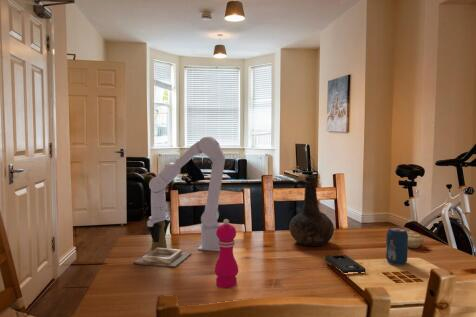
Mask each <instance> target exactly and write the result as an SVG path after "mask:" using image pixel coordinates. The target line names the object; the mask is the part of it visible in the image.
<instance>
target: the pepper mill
mask: <svg viewBox="0 0 476 317" xmlns="http://www.w3.org/2000/svg"><path fill="white" fill-rule="evenodd" d="M222 222H223V224H219V225H220V226H219V227H218V228H217V231H216V235H217V237H218V238H219V240H218V245H219V246H220V251H219V256H218V258H217V260H216V262H215V265H214V274H215V275H216V276H217V277H216V278H215V283H216V286H217V287H219V288H222V289H231V288H234V287H236V286H237V283H238V282H237V281H238V280H237V279H238V278H237V276H238V273H239V266H238V263H237V261H236V258H235V256H234V246H235V238H236V237H237V229H236V228H235V226H234V225H233V224H230V220H229V219H227V218H225V219H223V221H222Z"/></svg>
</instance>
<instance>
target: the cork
mask: <svg viewBox="0 0 476 317" xmlns="http://www.w3.org/2000/svg"><path fill="white" fill-rule="evenodd" d="M157 224H158V225H162V227H161V229H160V234H159V242H153V240H152V239H151V249H152V250H154V249H156V248H167V247H168V246H167V239H166V238H167V237H166V236H165V231H164V227H165V221H160V222H157Z"/></svg>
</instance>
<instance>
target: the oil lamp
mask: <svg viewBox="0 0 476 317" xmlns="http://www.w3.org/2000/svg"><path fill="white" fill-rule="evenodd" d="M406 232H407V234H408V248H409V249H417V248H419V247H420V246H422V245H424V242H425V240H424V238H423V236H421V235H420V234H417V233H416V232H415V231H411V230H406Z"/></svg>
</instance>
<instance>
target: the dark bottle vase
mask: <svg viewBox="0 0 476 317" xmlns="http://www.w3.org/2000/svg"><path fill="white" fill-rule="evenodd" d="M302 182H303V183H304V200H303V206H302V210H301V212H300V213H298V214H296V215H294V216H293V217H292V218H291V220H290V221H289V226H288V227H289V228H288V229H289V233H290V236H291V237H292V238H293V239H294V240H295V242H297V243H298V244H300V245H303V246H307V247H319V246H323V245H325V244H327V243H328V242H330V240H331V239H332V237H333V235H334V231H335V227H334V223H333V222H332V220H331V219H330V217H328V216H327V215H326V214H325V213H323V212H321V211H320V208H319V204H318V195H317V182H318V180H317V176H316V175H305V177H304V179H303V181H302Z"/></svg>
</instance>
